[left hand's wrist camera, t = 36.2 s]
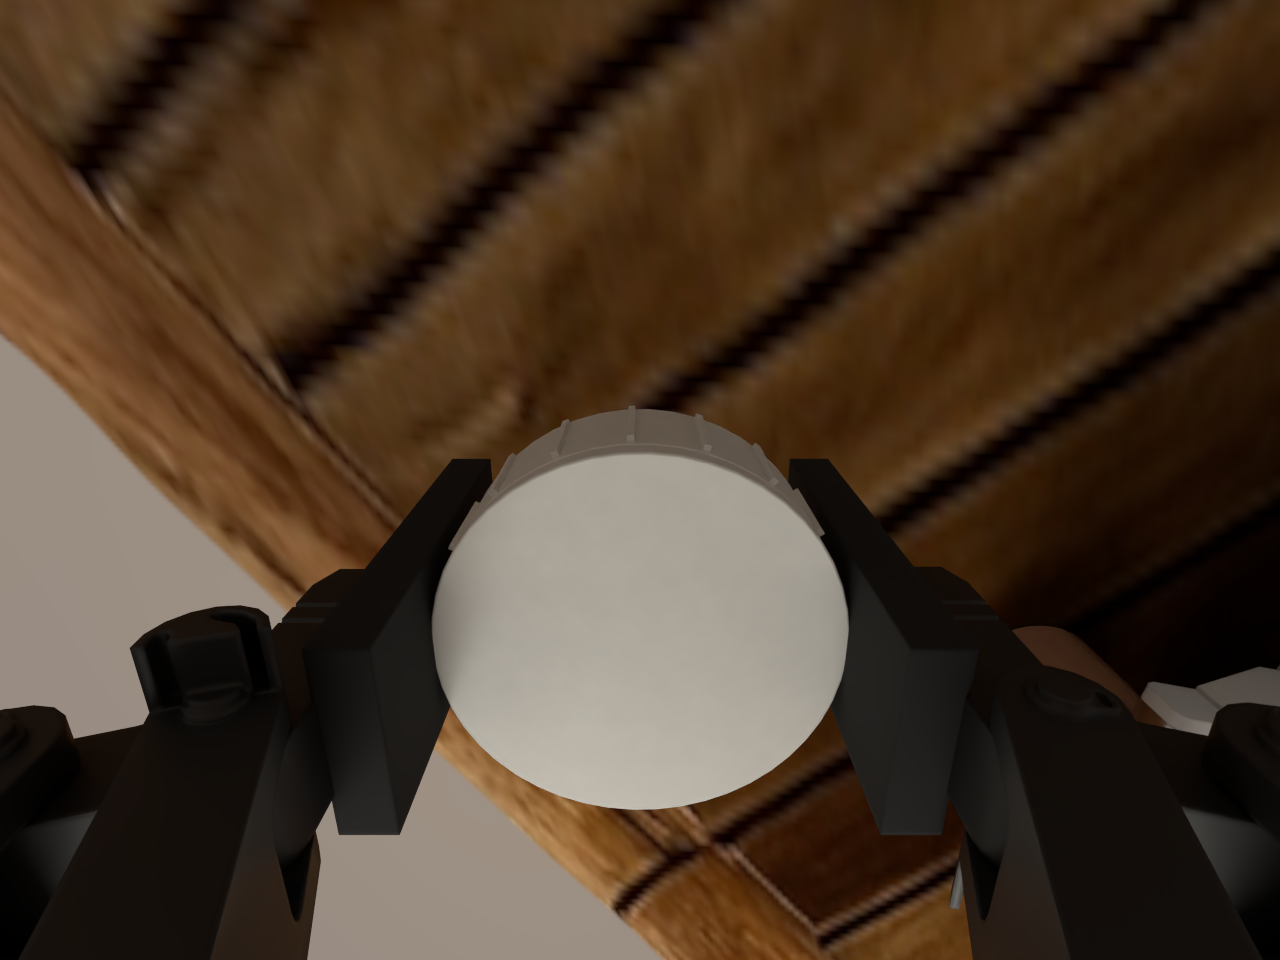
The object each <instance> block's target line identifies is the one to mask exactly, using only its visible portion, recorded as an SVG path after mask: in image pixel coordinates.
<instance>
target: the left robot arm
mask: <svg viewBox="0 0 1280 960" xmlns="http://www.w3.org/2000/svg"><path fill="white" fill-rule="evenodd" d="M788 483H789V485H790V486H791V488H792V490H795V489H797V488H798V490H799V491H800V493H801V495H802V496H803V498H804V500H805V501H806V503H807V505H808V506H809V508H810V510H811V511H812V513H813V515H814V516H815V518H816V520H817V521H818V523H819V525H820V526H821V528H822V530H823V531H824V533H825V534H824V535H822V536H820V538H821V540H822V542H823V544H824V545H825V547H826V549H827V551H828V552H829V554H830V556H831V558H832V560H833V561H834V563H835V566H836V568H837V571H838V574H839V576H840V579H841V582H842V584H843V587H844V592H845V597H846V602H847V606H848V615H849V633H848V641H847V650H846V658H845V665H844V671H843V675H842V679H841V682H840V684H839V687H838V689H837V691H836V694H835V696H834V699H833V701H832V703H831V704H830V707H831V709H832V712H833V715H834V717H835V720H836V722H837V725H838V727H839V730H840V732H841V735H842V737H843V740H844V743H845V745H846V748H847V750H848V753H849V755H850V758H851V760H852V763H853V765H854V768H855V770H856V773H857V776H858V778H859V781H860V783H861V786H862V788H863V791H864V793H865V796H866V798H867V801H868V804H869V806H870V809H871V811H872V814H873V816H874V819H875V821H876V824H877V826H878V829H879V831H880V834H881V835H942V830H943V825H944V820H945V815H946V811H947V806H948V801H949V798H950V800H951V802H952V804H953V806H954V808H955V809H956V811H957V813H958V815H959V817H960V819H961V821H962V822H963V824H964V826H965V830H964V835H963V840H962V844H961V849H960V853H959V858H958V862H957V867H956V872H955V876H954V881H953V885H952V890H951V896H950V904H949V907H952V908H956V909H959V907H960V903H961V899H962V894H963V893H964V897H965V905H966V912H967V919H968V926H969V933H970V940H971V948H972V955H973V960H1280V706H1271V705H1264V704H1257V703H1250V702H1245V703H1235V704H1227V705H1226V706H1224V707H1223V708H1222V709H1220V710H1219V711H1217V712H1216V715H1215V718H1214V721H1213V723H1212V726H1211V729H1210V732H1209V734H1208V736H1206V735H1201V734H1196V733H1191V732H1186V731H1181V730H1176V729H1171V728H1166V727H1161V726H1156V725H1151V724H1146V723H1142V722H1138V721H1135V719H1134V717H1133V715H1132V713H1131V712H1130V710H1129V709H1128V708H1127V707H1126V706H1125V704H1124V703H1123V702H1122V701H1121V700H1120V699H1119V697H1118V696H1116V695H1115V694H1113V693H1112V692H1110V691H1109V690H1108V689H1106V688H1105V687H1103V686H1102V685H1100V684H1099V683H1097V682H1095V681H1092V680H1090V679H1088V678H1086V677H1083V676H1081V675H1079V674H1077V673H1074V672H1071V671H1067V670H1063V669H1059V668H1055V667H1051V666H1044V665H1043V664H1042V663H1041V662H1040V661H1039V660H1038V659H1037V657H1036V656H1035V655H1034V654H1033V653H1032V652H1031V651H1030V650H1029V649H1028V648H1027V647H1026V645H1025V644H1024V643H1023V642H1022V641H1021V640H1020V639H1019V638H1018V637H1017V636H1016V634H1015V633H1014V632H1013V631H1012V630H1011V629H1010V628H1009V627H1008V626H1007V625H1006V624H1005V622H1004V621H1003V620H999V616H998V615H997V614H996V613H995V612H994V610H993V609H992V608H991V607H990V606H989V605H985V601H984V599H983V598H982V597H981V596H980V595H979V594H978V593H977V592H976V591H975V590H974V589H973V587H972V586H971V585H970V584H969V583H968V582H966V581H964V580H963V579H961V578H959V577H958V576H956V575H954V574H952V573H951V572H949V571H947V570H945V569H944V568H942V567H914V566H913V565H912V564H911V563H910V561H909V560H908V559H907V558H906V556H905V555H904V554H903V553H902V551H901V550H900V549H899V548H898V546H897V545H896V544H895V543H894V541H893V540H892V539H891V538H890V536H889V535H888V534H887V533H886V531H885V530H884V529H883V528H882V526H881V525H880V524H879V523H878V521H877V520H876V519H875V518H874V516H873V515H872V514H871V512H870V511H869V510H868V509H867V507H866V506H865V505H864V504H863V502H862V501H861V500H860V499H859V497H858V496H857V495H856V494H855V492H854V491H853V490H852V489H851V487H850V486H849V485H848V484H847V482H846V481H845V480H844V479H843V477H842V476H841V475H840V474H839V472H838V471H837V470H836V469H835V467H834V466H833V465H832V464H831V462H830V461H829V460H828V459H790V465H789V478H788ZM491 484H492V472H491V460H490V459H452V460H451V462H450V463H449V464H448V465H447V467H446V468H445V469H444V470H443V472H442V473H441V474H440V475H439V477H438V478H437V479H436V480H435V482H434V483H433V484H432V485H431V487H430V488H429V489H428V490H427V492H426V493H425V494H424V496H423V497H422V498H421V499H420V501H419V502H418V503H417V504H416V506H415V507H414V508H413V509H412V511H411V512H410V513H409V514H408V516H407V517H406V518H405V519H404V521H403V522H402V523H401V524H400V526H399V527H398V528H397V529H396V531H395V532H394V533H393V534H392V536H391V537H390V538H389V539H388V541H387V542H386V543H385V544H384V546H383V547H382V548H381V549H380V551H379V552H378V553H377V554H376V556H375V557H374V558H373V559H372V561H371V562H370V563H369V564H368V566H367V567H366V568H365V569H339V570H338V571H336V572H334V573H332V574H331V575H329V576H327V577H326V578H324V579H322V580H320V581H319V582H317V583H315V584H314V585H312V586H311V588H310V589H309V590H308V591H307V592H306V593H305V594H304V595H303V596H302V597H301V599H300V600H299V601H298V602H297V603H296V607H292V609H291V610H290V611H289V612H288V613H287V614H286V615H285V616H284V617H283V618H282V623H278V624H277V625H276V626H275V627H274V628H273V629H271V625H270V620H269V616H268V615H266V614H265V613H264V612H262V611H261V610H259V609H257V608H252V607H246V606H241V605H239V606H221V607H213V608H209V609H204V610H200V611H195V612H191V613H188V614H185V615H182V616H180V617H177V618H174V619H172V620H169V621H166V622H164V623H163V624H161V625H159V626H157V627H156V628H154V629H152V630H150V631H149V632H147V633H145V634H144V635H143V636H142V637H141V638H140V639H139V640H138V641H136V642H135V643H134V644H133V645H132V646H131V647H130V650H131V654H132V657H133V660H134V664H135V667H136V670H137V673H138V677H139V680H140V683H141V686H142V690H143V693H144V696H145V699H146V703H147V706H148V709H149V712H150V713H149V715H148V717H147V718H146V720H145V722H144V724H143V725H139V726H135V727H130V728H126V729H120V730H115V731H111V732H105V733H100V734H95V735H90V736H85V737H80V738H75V739H74V738H73V735H72V733H71V730H70V727H69V724H68V721H67V719H66V716H65V715H64V714H63V713H61V712H60V711H59V710H57V709H56V708H54V707H45V706H35V705H33V706H26V707H19V708H12V709H3V710H0V960H307V956H308V949H309V942H310V935H311V928H312V921H313V914H314V906H315V899H316V892H317V885H318V878H319V870H320V863H321V859H320V851H319V844H318V840H317V835H316V829H317V827H318V825H319V823H320V821H321V820H322V818H323V816H324V814H325V812H326V810H327V808H328V806H329V805H330V803H331V801H332V803H333V808H334V813H335V818H336V823H337V828H338V833H339V835H400V833H401V830H402V827H403V825H404V822H405V820H406V817H407V815H408V812H409V810H410V807H411V805H412V802H413V800H414V797H415V794H416V792H417V789H418V787H419V784H420V782H421V779H422V776H423V774H424V772H425V769H426V767H427V764H428V761H429V759H430V756H431V754H432V751H433V749H434V746H435V744H436V741H437V739H438V736H439V733H440V731H441V728H442V726H443V723H444V721H445V718H446V716H447V713H448V711H449V708H450V703H449V701H448V699H447V697H446V695H445V693H444V691H443V688H442V686H441V682H440V679H439V676H438V673H437V669H436V662H435V654H434V646H433V637H432V612H433V605H434V599H435V593H436V590H437V587H438V584H439V581H440V578H441V575H442V572H443V569H444V567H445V565H446V563H447V561H448V559H449V557H450V555H451V553H452V550H450V549H448V548H449V546H450V544H451V542H452V540H453V538H454V537H455V535H456V533H457V532H458V530H459V528H460V527H461V525H462V523H463V522H464V520H465V518H466V517H467V515H468V513H469V511H470V510H471V508H472V506H473V505H474V503H475V502H479V503H480V502H481V500H482V499H483V497H484V495H485V493H486V492H487V490H488V489H489V487H490V486H491Z"/></svg>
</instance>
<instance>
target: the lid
mask: <svg viewBox="0 0 1280 960" xmlns="http://www.w3.org/2000/svg"><path fill="white" fill-rule="evenodd" d="M824 534H825V533H824V531H823V530H822V528H821V526H820V525H819V523H818V521H817V520H816V518H815V516H814V515H813V513H812V511H811V510H810V508H809V506H808V505H807V503H806V501H805V500H804V498H803V496H802V495H801V493H800V491H799V490H798V488H797V489H795V490H792V488H791V486H790V485H789V483H788V482H787V481H786V479H785V478H784V477H783V475H782V474H781V473H780V472H779V470H778V469H777V468H776V467H775V466H774V465H773V464H772V463H771V462H770V461H769V460H768V459H767V458H766V457H765V455H764V453H763V451H762V449H761V447H760V446H759V445H758V444H756V443H755V444H754V445H753V446H752V445H750V444H749V443H748V442H746V441H745V440H743V439H742V438H741V437H739V436H737V435H735V434H733V433H731V432H730V431H728V430H726V429H724V428H722V427H720V426H718V425H715V424H713V423H710V422H707V421H705V420H703V416H702V415H699V414H696V415H695V417H693V416H688V415H684V414H680V413H676V412H670V411H660V410H651V409H637V410H635V406H628V410H619V411H612V412H606V413H599V414H596V415H592V416H589V417H585V418H581V419H578V420H575V421H573V422H570V421H569V419H567V420H565V421H563V422H562V424H561V427H559V428H556V429H554V430H552V431H551V432H549V433H547V434H546V435H544V436H542V437H541V438H539V439H537V440H536V441H534V442H532V443H531V444H530V445H529V446H527V447H526V448H525V449H524V450H522V451H521V452H520V453H519V454H518V455H515V454H514V453H512V454H511V455H510V456H509V457H508V459H507V460H506V462H505V464H504V466H503V467H502V469H501V471H500V473H499V474H498V476H497V477H496V479H495V480H494V482H493V483H492V484H491V486H490V487H489V489H488V490H487V492H486V493H485V495H484V497H483V499H482V500H481V502H480V503H479V502H475V503H474V505H473V506H472V508H471V510H470V511H469V513H468V515H467V517H466V518H465V520H464V522H463V523H462V525H461V527H460V528H459V530H458V532H457V533H456V535H455V537H454V538H453V540H452V542H451V544H450V546H449V548H448V549H450V550H452V553H451V555H450V557H449V559H448V561H447V563H446V565H445V567H444V569H443V572H442V575H441V578H440V581H439V584H438V587H437V590H436V593H435V599H434V605H433V612H432V637H433V646H434V654H435V662H436V669H437V673H438V676H439V679H440V682H441V686H442V688H443V691H444V693H445V695H446V697H447V699H448V701H449V703H450V705H451V707H452V709H453V711H454V712H455V714H456V715H457V717H458V718H459V720H460V721H461V723H462V724H463V726H464V728H465V729H466V730H467V731H468V732H469V733H470V735H471V736H472V737H473V738H474V739H475V740H476V742H477V743H478V744H479V745H480V746H481V747H482V748H483V749H484V750H485V751H487V752H488V753H489V754H490V755H491V756H492V757H493V758H494V759H495V760H496V761H498V762H499V763H500V764H502V765H503V766H505V767H506V768H508V769H509V770H510V771H512V772H513V773H515V774H516V775H518V776H519V777H521V778H523V779H525V780H527V781H528V782H530V783H532V784H534V785H536V786H538V787H540V788H542V789H545V790H547V791H549V792H552V793H554V794H557V795H559V796H562V797H565V798H569V799H572V800H575V801H579V802H582V803H587V804H592V805H597V806H603V807H609V808H621V809H661V808H670V807H678V806H684V805H689V804H693V803H697V802H702V801H706V800H709V799H712V798H715V797H718V796H721V795H724V794H727V793H729V792H731V791H734V790H736V789H738V788H740V787H742V786H745V785H747V784H749V783H751V782H752V781H754V780H756V779H757V778H759V777H761V776H762V775H764V774H766V773H767V772H769V771H771V770H772V769H773V768H775V767H776V766H777V765H779V764H780V763H781V762H782V761H784V760H785V759H786V758H788V757H789V756H790V755H791V754H792V753H793V752H794V751H795V750H796V749H797V748H798V747H799V746H800V745H801V744H802V743H803V742H804V741H805V740H806V739H807V738H808V737H809V735H810V734H811V733H812V732H813V730H814V729H815V728H816V726H817V725H818V724H819V723H820V721H821V720H822V718H823V716H824V715H825V713H826V711H827V710H828V708H829V706H830V704H831V703H832V701H833V699H834V696H835V694H836V691H837V689H838V687H839V684H840V682H841V679H842V675H843V671H844V665H845V658H846V650H847V641H848V633H849V615H848V606H847V602H846V597H845V592H844V587H843V584H842V582H841V579H840V576H839V574H838V571H837V568H836V566H835V563H834V561H833V560H832V558H831V556H830V554H829V552H828V551H827V549H826V547H825V545H824V544H823V542H822V540H821V538H820V536H822V535H824Z"/></svg>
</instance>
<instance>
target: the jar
mask: <svg viewBox="0 0 1280 960" xmlns="http://www.w3.org/2000/svg"><path fill="white" fill-rule="evenodd" d="M1012 631H1013V632H1014V633H1015V634H1016V636H1017V637H1018V638H1019V639H1020V640H1021V641H1022V642H1023V643H1024V644H1025V645H1026V647H1027V648H1028V649H1029V650H1030V651H1031V652H1032V653H1033V654H1034V655H1035V656H1036V657H1037V659H1038V660H1039V661H1040V662H1041V663H1042V664H1043V665H1044V666H1051V667H1055V668H1059V669H1063V670H1067V671H1071V672H1074V673H1077V674H1079V675H1081V676H1083V677H1086V678H1088V679H1090V680H1092V681H1095V682H1097V683H1099V684H1100V685H1102V686H1103V687H1105V688H1106V689H1108V690H1109V691H1110V692H1112V693H1113V694H1115V695H1116V696H1118V697H1119V699H1120V700H1121V701H1122V702H1123V703H1124V704H1125V706H1126V707H1127V708H1128V709H1129V710H1130V712H1131V713H1132V712H1133V710H1134V708H1135V706H1136V704H1137V702H1138V701H1139V699H1140V697H1141V696H1140V695H1139V694H1138V693H1137V692H1136V691H1135V690H1133V689H1132V688H1131V687H1130V686H1129V685H1128V684H1127V683H1126V682H1125V681H1124V680H1123V679H1122V678H1121V677H1120V676H1119V675H1118V674H1117V673H1116V672H1115V671H1114V670H1113V669H1112V668H1111V667H1110V666H1109V665H1108V664H1107V663H1105V662H1104V661H1103V660H1102V659H1101V658H1100V657H1099V656H1098V655H1097V654H1096V653H1095V652H1094V651H1093V650H1092V649H1091V648H1090V647H1089V646H1088V645H1087V644H1086V643H1085V642H1084V641H1082V640H1081V639H1080V638H1079V637H1077V636H1076V635H1074V634H1072V633H1071V632H1068V631H1066V630H1063V629H1060V628H1056V627H1051V626H1026V627H1021V628H1016V629H1013V630H1012Z"/></svg>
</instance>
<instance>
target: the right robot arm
mask: <svg viewBox="0 0 1280 960" xmlns="http://www.w3.org/2000/svg"><path fill="white" fill-rule="evenodd" d="M1245 702H1250V703H1257V704H1264V705H1271V706H1280V665H1279V667H1278V668H1277V670H1275V669H1269V668H1264V667H1257V668H1253V669H1250V670H1247V671H1244V672H1241V673H1237V674H1234V675H1231V676H1228V677H1225V678H1221V679H1218V680H1215V681H1212V682H1209V683H1205V684H1202V685H1199V686H1197V687H1196V689H1191V688H1186V687H1180V686H1175V685H1169V684H1164V683H1158V682H1149V683H1148V684H1147V686H1146V688H1145V690H1144V692H1143V694H1142V695H1141V697H1140V699H1139V701H1138V702H1137V704H1136V706H1135V708H1134V710H1133V712H1132V715H1133V717H1134V719H1135V721H1138V722H1142V723H1146V724H1151V725H1156V726H1161V727H1166V728H1171V729H1176V730H1181V731H1186V732H1191V733H1196V734H1201V735H1206V736H1208V734H1209V732H1210V729H1211V726H1212V723H1213V721H1214V718H1215V715H1216V712H1217V711H1219V710H1220V709H1222V708H1223V707H1224V706H1226V705H1227V704H1235V703H1245Z"/></svg>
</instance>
